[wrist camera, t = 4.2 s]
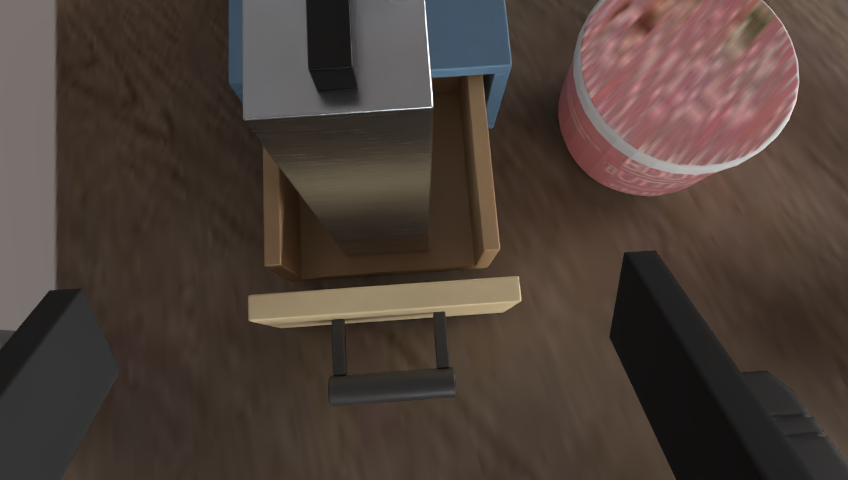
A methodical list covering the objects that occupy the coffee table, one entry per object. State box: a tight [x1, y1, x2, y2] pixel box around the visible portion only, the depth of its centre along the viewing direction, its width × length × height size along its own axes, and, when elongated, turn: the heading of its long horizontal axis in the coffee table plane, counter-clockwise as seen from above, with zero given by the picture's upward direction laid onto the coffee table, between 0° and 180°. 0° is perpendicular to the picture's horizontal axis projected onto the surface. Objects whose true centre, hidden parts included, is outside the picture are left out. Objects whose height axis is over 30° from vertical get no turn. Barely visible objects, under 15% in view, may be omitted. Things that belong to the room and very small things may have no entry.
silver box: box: [242, 0, 434, 257], centre depth 22 cm, size 4×6×19 cm
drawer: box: [248, 75, 521, 406], centre depth 29 cm, size 18×12×6 cm
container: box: [558, 0, 799, 196], centre depth 31 cm, size 10×10×8 cm
